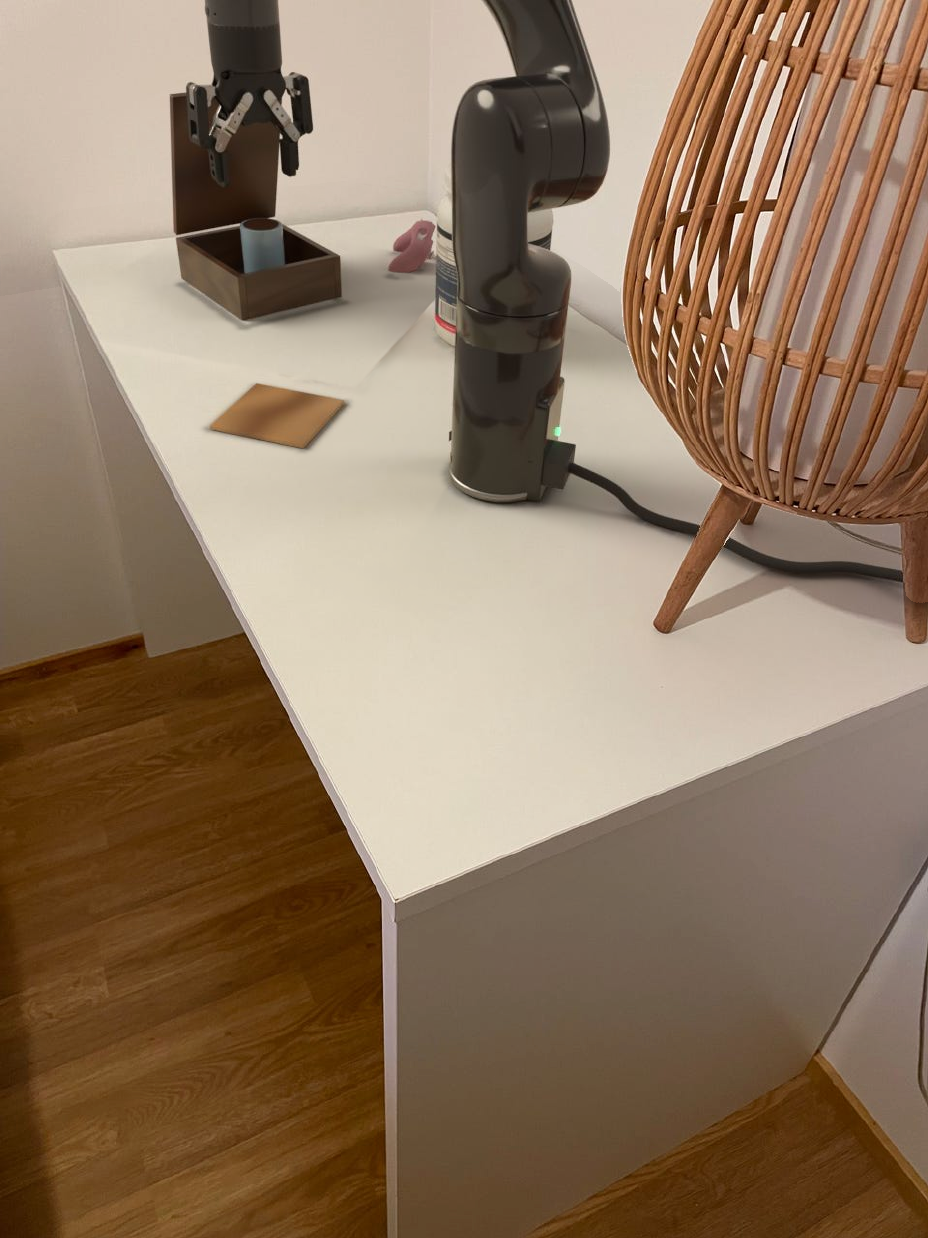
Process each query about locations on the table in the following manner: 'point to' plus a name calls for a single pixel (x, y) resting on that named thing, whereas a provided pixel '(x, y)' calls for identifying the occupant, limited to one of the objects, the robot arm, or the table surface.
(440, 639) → the table surface
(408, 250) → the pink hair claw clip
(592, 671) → the table surface
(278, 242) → the cup
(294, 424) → the mat
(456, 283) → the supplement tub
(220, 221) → the lid
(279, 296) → the open wooden box
